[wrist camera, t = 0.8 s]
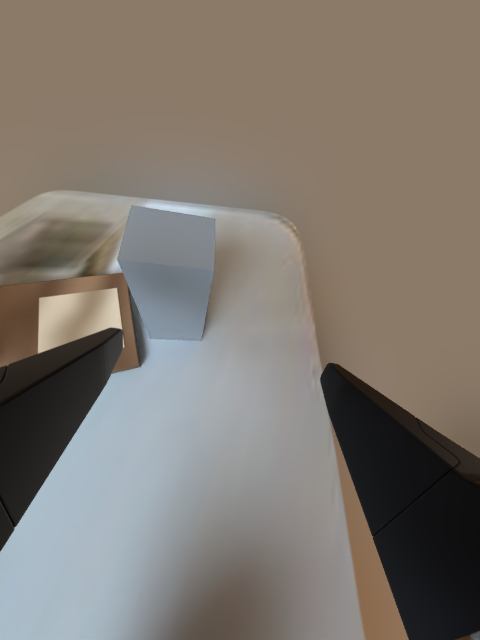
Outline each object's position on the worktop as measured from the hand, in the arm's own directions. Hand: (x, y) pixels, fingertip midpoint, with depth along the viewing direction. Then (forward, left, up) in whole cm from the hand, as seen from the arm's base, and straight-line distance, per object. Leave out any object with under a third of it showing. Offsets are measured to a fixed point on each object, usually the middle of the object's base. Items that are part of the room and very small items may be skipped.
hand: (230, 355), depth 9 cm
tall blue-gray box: (+4, +8, -15) cm, 17 cm away
